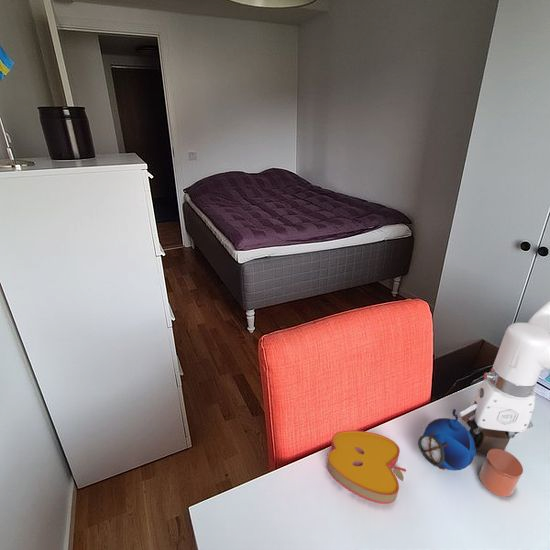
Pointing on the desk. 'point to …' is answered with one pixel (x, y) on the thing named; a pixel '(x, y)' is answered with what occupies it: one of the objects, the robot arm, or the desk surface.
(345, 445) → the decorative object
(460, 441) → the bomb
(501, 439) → the walnut block
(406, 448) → the desk surface
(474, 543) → the desk surface
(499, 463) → the terracotta pot
